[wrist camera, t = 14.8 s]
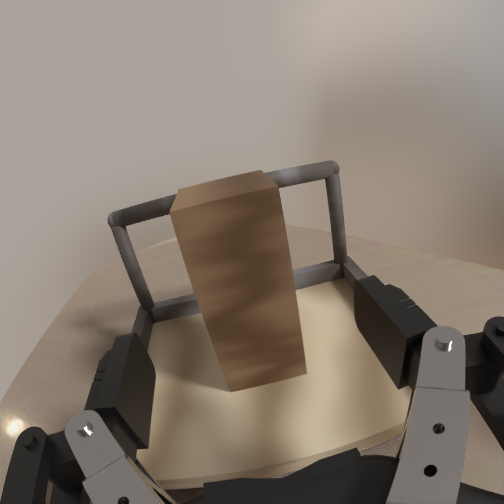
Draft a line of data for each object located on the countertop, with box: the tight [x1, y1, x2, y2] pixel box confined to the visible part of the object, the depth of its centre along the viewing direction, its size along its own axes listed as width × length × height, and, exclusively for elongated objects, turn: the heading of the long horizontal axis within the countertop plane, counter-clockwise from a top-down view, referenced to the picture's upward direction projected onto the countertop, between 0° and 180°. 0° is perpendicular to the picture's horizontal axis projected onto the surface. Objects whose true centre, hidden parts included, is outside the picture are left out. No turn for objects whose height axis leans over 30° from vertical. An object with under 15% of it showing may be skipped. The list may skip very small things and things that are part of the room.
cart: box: [108, 161, 412, 490], centre depth 20 cm, size 20×17×14 cm
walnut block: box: [169, 170, 307, 392], centre depth 19 cm, size 5×5×12 cm
